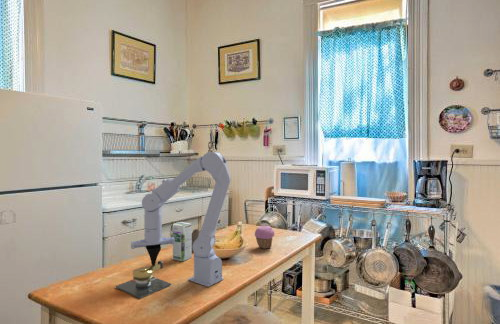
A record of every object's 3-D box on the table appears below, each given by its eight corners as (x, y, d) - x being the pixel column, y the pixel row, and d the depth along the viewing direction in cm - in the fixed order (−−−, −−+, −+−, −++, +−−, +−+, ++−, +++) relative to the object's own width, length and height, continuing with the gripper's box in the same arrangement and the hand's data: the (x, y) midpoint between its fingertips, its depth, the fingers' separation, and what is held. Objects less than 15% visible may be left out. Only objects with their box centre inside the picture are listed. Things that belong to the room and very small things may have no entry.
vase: (197, 246, 152) (196, 227, 151) (207, 249, 147) (207, 229, 147) (185, 249, 146) (185, 230, 146) (195, 252, 142) (195, 232, 142)
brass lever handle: (144, 281, 103) (144, 273, 103) (128, 278, 106) (128, 270, 106) (169, 268, 115) (169, 261, 115) (154, 265, 117) (154, 258, 117)
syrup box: (171, 259, 133) (171, 224, 133) (181, 255, 139) (181, 221, 138) (183, 261, 131) (182, 225, 130) (192, 257, 136) (192, 222, 135)
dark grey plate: (172, 284, 109) (171, 275, 109) (140, 298, 99) (139, 288, 99) (147, 275, 117) (147, 266, 117) (115, 287, 107) (115, 278, 107)
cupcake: (278, 247, 149) (278, 226, 149) (264, 252, 143) (264, 229, 143) (264, 243, 156) (264, 222, 155) (250, 247, 150) (250, 225, 149)
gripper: (171, 223, 121) (171, 259, 121) (129, 226, 114) (129, 265, 115) (176, 227, 114) (176, 266, 115) (131, 231, 108) (132, 272, 109)
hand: (153, 266), depth 115 cm, fingers closed
